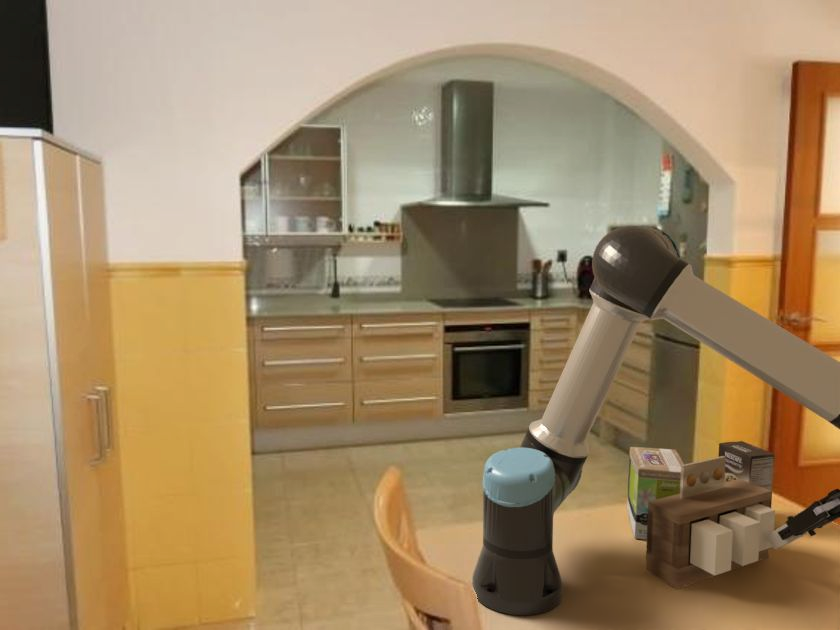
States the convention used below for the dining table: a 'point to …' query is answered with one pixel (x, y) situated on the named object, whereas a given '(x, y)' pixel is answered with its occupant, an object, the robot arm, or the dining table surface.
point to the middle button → (743, 537)
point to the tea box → (650, 482)
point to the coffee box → (747, 463)
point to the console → (694, 518)
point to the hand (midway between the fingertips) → (772, 541)
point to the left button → (711, 547)
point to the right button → (762, 522)
